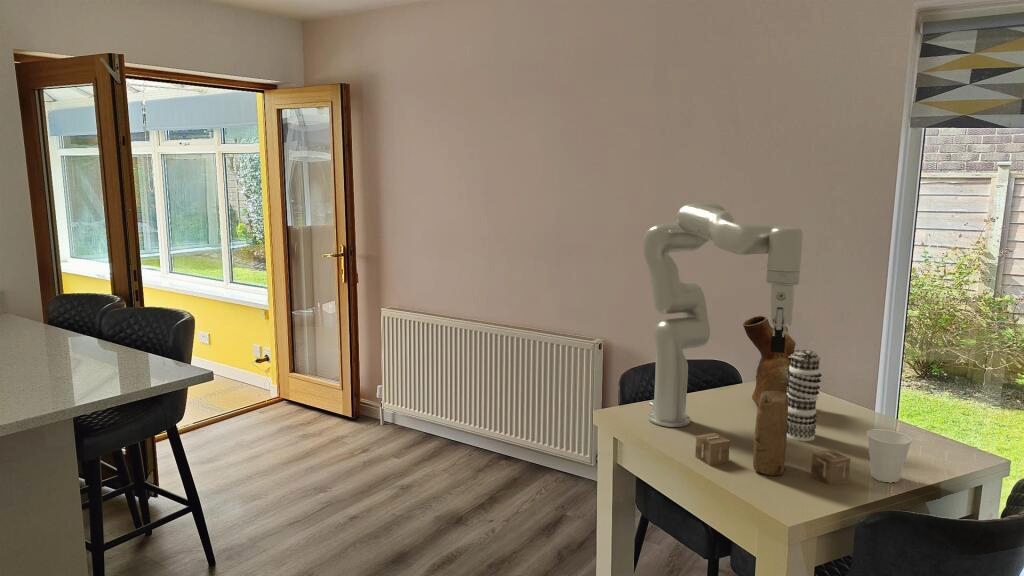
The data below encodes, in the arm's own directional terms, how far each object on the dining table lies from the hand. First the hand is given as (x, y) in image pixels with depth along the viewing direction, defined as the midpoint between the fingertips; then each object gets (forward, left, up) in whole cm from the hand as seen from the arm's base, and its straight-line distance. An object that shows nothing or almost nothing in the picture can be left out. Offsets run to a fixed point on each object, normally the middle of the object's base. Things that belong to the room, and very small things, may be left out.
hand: (777, 350), depth 171 cm
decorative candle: (-15, +25, -31) cm, 43 cm away
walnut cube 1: (-10, -10, -31) cm, 34 cm away
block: (0, 0, -31) cm, 31 cm away
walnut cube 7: (+10, +10, -31) cm, 34 cm away
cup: (+15, +23, -31) cm, 42 cm away
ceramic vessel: (-38, +36, -31) cm, 61 cm away
